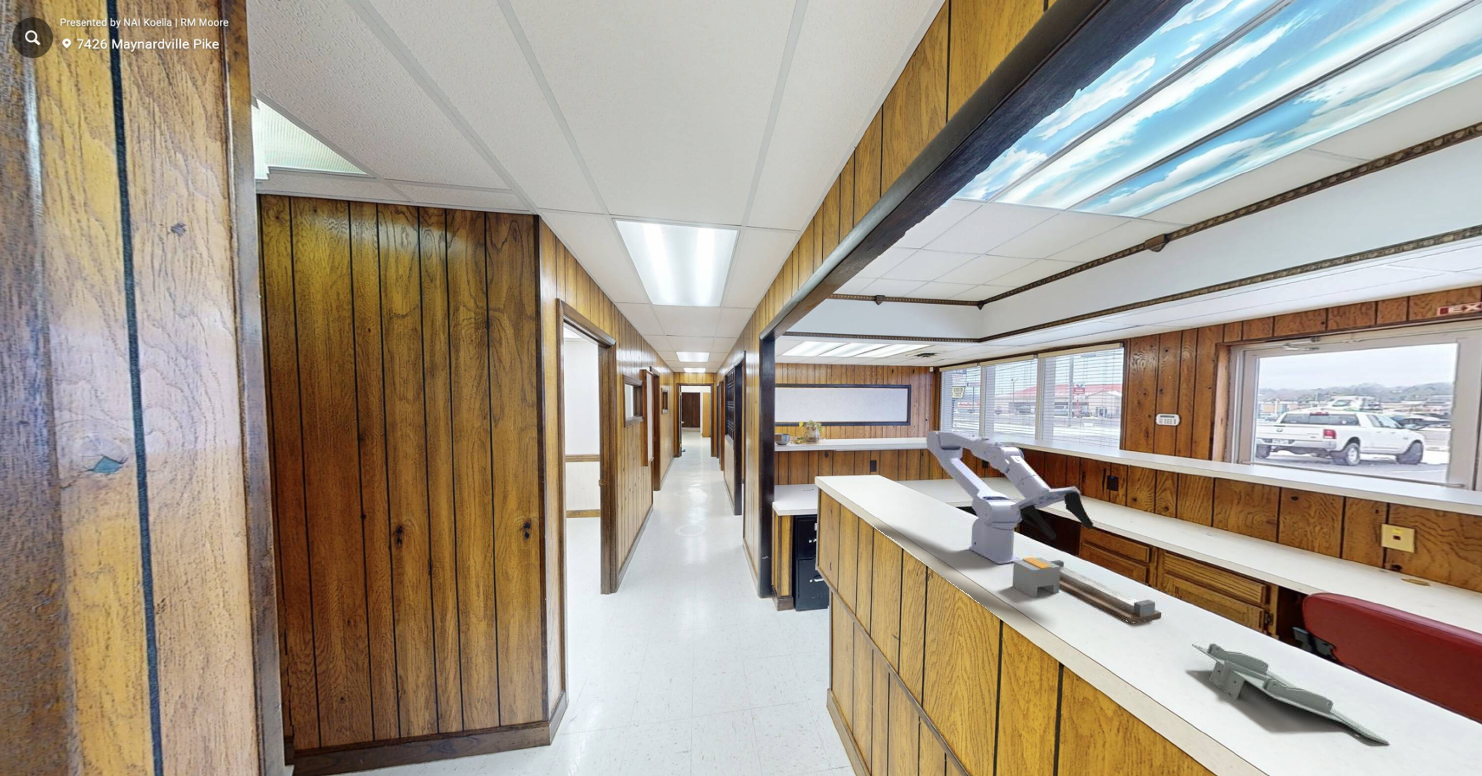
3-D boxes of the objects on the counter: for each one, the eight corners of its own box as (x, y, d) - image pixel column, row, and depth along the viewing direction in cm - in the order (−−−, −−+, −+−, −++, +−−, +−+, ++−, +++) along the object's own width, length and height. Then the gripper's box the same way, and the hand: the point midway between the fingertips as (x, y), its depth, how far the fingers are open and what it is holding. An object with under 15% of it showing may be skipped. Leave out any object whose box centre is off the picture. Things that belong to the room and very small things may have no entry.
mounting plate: (1039, 577, 93) (1039, 573, 93) (1065, 573, 95) (1066, 569, 95) (1130, 623, 76) (1131, 618, 76) (1161, 617, 78) (1161, 612, 78)
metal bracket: (1291, 695, 52) (1177, 624, 67) (1275, 733, 52) (1165, 654, 67) (1405, 735, 51) (1263, 654, 66) (1388, 774, 51) (1250, 685, 66)
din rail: (1045, 571, 94) (1046, 561, 94) (1059, 569, 95) (1059, 560, 95) (1139, 617, 76) (1140, 605, 76) (1154, 614, 77) (1155, 602, 77)
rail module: (1012, 586, 89) (1013, 559, 88) (1039, 582, 91) (1040, 556, 90) (1031, 597, 84) (1032, 569, 84) (1059, 592, 86) (1060, 565, 86)
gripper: (998, 483, 93) (1038, 532, 82) (1060, 464, 91) (1110, 511, 80) (999, 499, 97) (1037, 548, 86) (1058, 481, 95) (1105, 529, 83)
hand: (1072, 531), depth 83 cm, fingers open, 7 cm apart
